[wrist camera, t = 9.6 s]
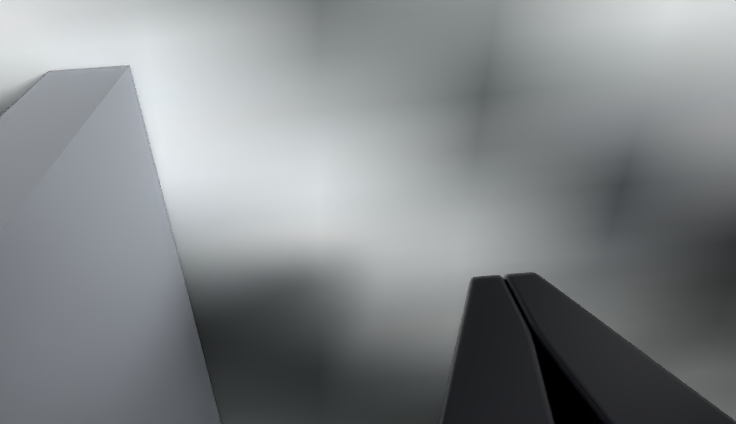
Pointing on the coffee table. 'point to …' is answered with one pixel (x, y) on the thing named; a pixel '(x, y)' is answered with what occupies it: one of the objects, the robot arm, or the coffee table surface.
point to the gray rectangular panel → (91, 265)
